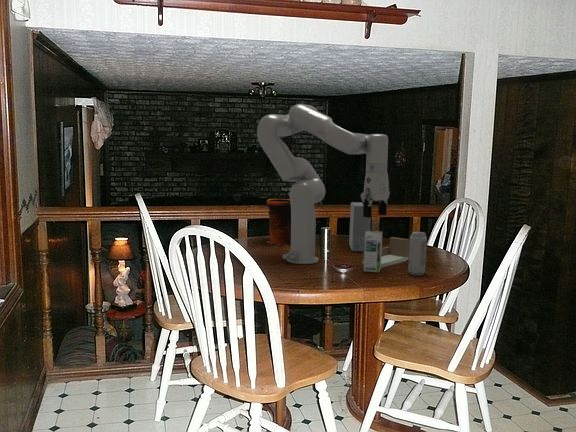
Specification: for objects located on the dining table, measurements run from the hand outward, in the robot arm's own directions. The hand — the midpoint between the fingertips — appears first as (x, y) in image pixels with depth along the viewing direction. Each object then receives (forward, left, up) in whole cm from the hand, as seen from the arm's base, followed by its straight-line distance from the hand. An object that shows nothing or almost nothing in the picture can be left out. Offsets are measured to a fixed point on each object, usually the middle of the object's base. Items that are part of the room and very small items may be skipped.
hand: (374, 216), depth 200 cm
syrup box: (0, 0, -20) cm, 20 cm away
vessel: (+15, +60, -20) cm, 65 cm away
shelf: (+16, +5, -20) cm, 26 cm away
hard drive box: (+31, +28, -21) cm, 46 cm away
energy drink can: (+7, -14, -20) cm, 26 cm away
